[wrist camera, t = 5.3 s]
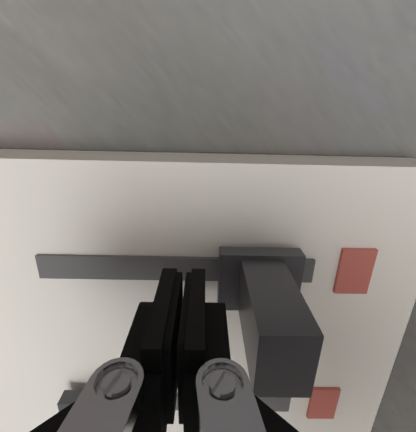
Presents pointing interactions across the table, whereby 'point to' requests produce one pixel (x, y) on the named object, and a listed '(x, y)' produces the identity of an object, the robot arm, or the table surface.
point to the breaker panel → (199, 264)
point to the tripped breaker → (272, 318)
